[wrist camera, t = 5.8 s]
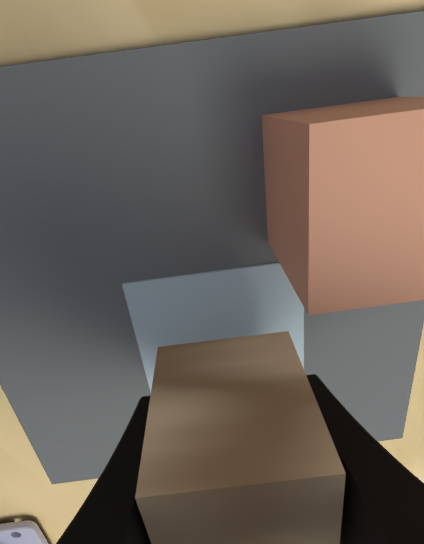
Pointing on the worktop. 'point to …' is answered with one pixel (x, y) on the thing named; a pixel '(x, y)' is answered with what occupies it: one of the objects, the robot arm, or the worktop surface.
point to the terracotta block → (348, 202)
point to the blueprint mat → (175, 226)
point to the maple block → (237, 448)
